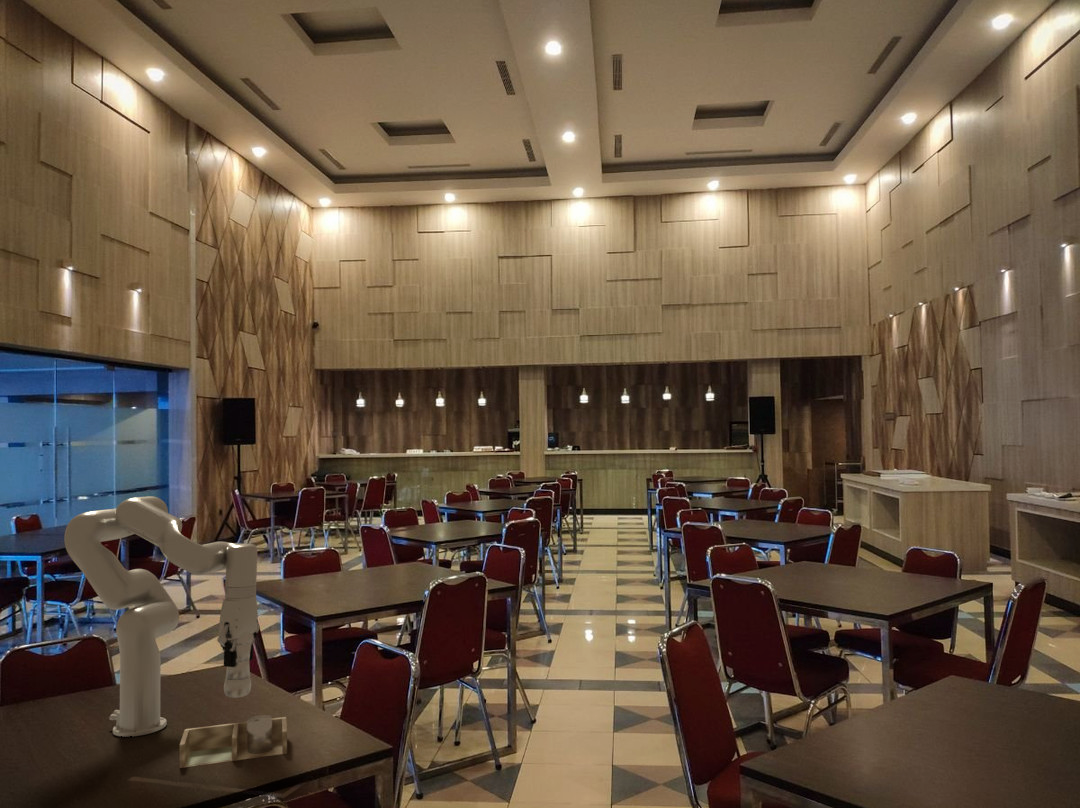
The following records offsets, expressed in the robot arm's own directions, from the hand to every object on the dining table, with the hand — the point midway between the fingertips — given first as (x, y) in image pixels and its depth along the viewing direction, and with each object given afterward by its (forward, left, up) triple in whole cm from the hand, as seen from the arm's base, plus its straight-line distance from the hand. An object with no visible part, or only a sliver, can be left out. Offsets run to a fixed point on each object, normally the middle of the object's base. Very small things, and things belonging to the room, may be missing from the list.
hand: (238, 662), depth 204 cm
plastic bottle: (0, 0, -9) cm, 9 cm away
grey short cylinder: (+15, -11, -17) cm, 25 cm away
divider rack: (+10, -14, -17) cm, 24 cm away
